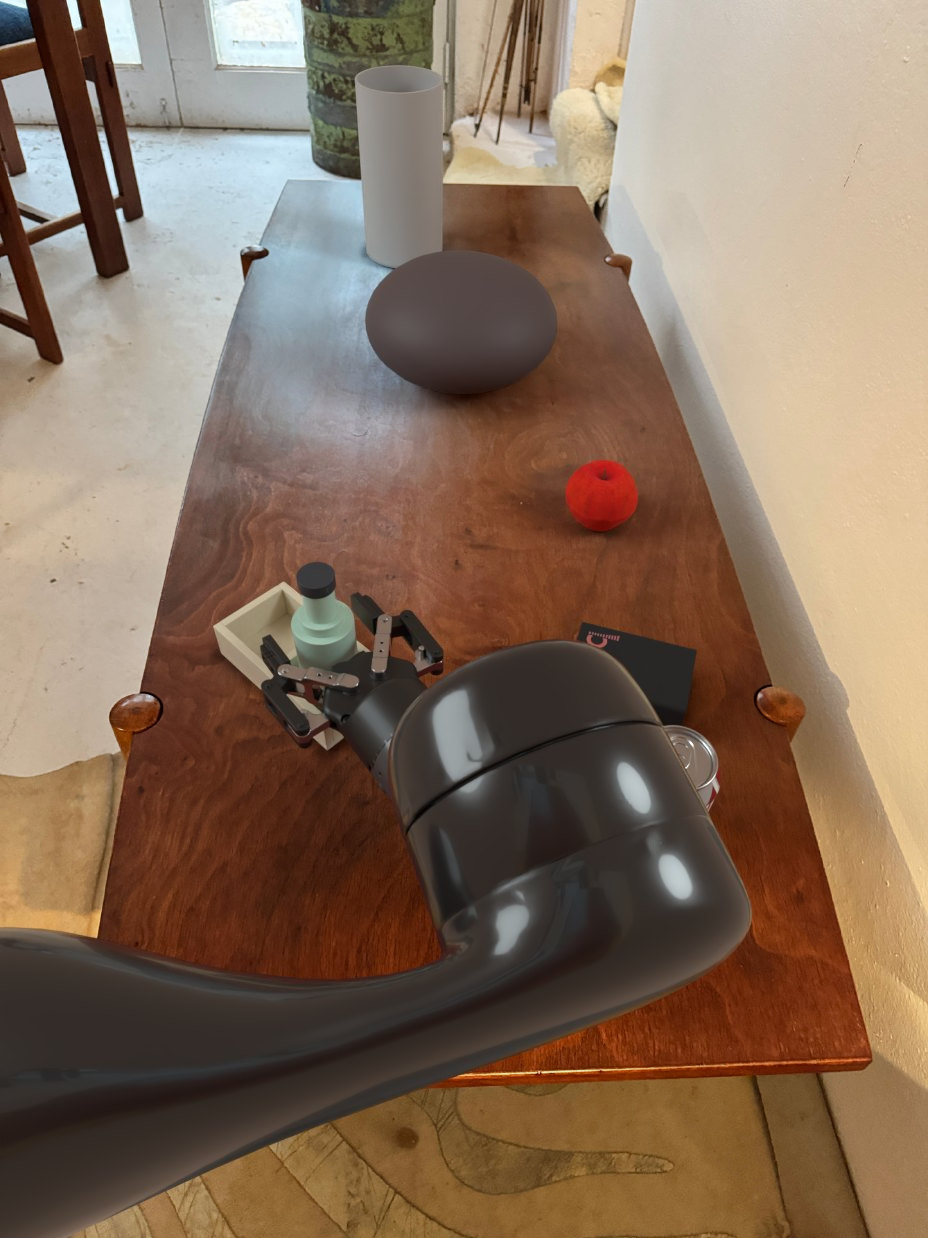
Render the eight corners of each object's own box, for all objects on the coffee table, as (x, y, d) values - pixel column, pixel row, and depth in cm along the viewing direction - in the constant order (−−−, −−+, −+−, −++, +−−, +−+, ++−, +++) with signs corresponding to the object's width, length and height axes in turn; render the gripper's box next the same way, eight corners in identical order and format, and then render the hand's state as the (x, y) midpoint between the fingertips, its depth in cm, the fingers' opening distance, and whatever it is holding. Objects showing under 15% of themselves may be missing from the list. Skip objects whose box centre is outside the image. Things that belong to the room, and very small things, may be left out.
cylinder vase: (396, 278, 133) (390, 99, 114) (351, 249, 139) (337, 75, 120) (458, 256, 138) (460, 81, 119) (411, 229, 144) (407, 60, 126)
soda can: (599, 859, 68) (623, 781, 59) (616, 789, 72) (642, 707, 63) (682, 886, 67) (720, 810, 58) (695, 813, 71) (732, 732, 62)
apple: (574, 490, 99) (582, 438, 93) (639, 509, 97) (652, 456, 91) (552, 532, 94) (559, 480, 88) (621, 553, 92) (632, 500, 86)
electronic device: (674, 744, 75) (686, 711, 72) (558, 713, 77) (564, 680, 74) (685, 682, 80) (697, 648, 77) (576, 654, 82) (582, 619, 78)
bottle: (330, 726, 75) (310, 609, 64) (293, 693, 77) (268, 574, 66) (373, 693, 78) (362, 575, 66) (336, 661, 80) (320, 542, 69)
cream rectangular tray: (327, 751, 74) (322, 725, 71) (220, 653, 81) (212, 625, 78) (396, 696, 78) (394, 670, 75) (289, 608, 85) (283, 580, 82)
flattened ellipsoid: (411, 312, 126) (408, 209, 115) (572, 346, 120) (586, 241, 109) (337, 399, 110) (326, 290, 99) (519, 443, 105) (529, 332, 94)
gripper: (494, 678, 64) (379, 556, 73) (331, 772, 58) (226, 627, 67) (489, 733, 70) (383, 614, 78) (340, 825, 64) (243, 685, 72)
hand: (311, 620), depth 72 cm, fingers open, 8 cm apart
